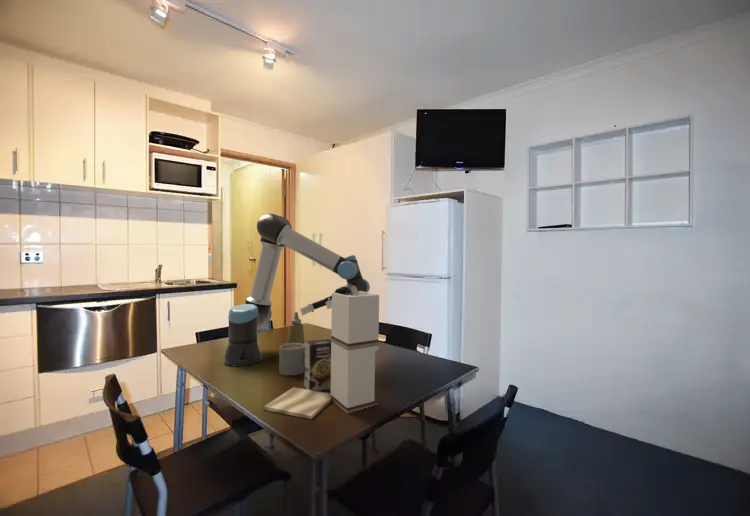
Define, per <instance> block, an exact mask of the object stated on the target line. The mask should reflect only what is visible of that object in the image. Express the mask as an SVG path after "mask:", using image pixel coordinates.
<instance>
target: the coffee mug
mask: <svg viewBox="0 0 750 516" xmlns="http://www.w3.org/2000/svg"><path fill="white" fill-rule="evenodd" d="M305 347H306V344H305V343H304V344H302V343H283V344H281V345H279V350H278V351H279V356H278V357H279V361H278V362H279V365H278V371H279V372H278V373H279V374H280V375H282V376H287V375H290V377H291V375H293V376H298V374H299V375H301V374H304V373H305ZM303 372H304V373H303Z"/></svg>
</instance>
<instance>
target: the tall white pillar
mask: <svg viewBox="0 0 750 516" xmlns="http://www.w3.org/2000/svg"><path fill="white" fill-rule="evenodd" d="M331 295H332V308H331V332H330V333H331V336H330V337H331V338H330V340H331V389H330V393H331V397H332V401H331V402H333V403H334V404H335V405H337V406H338V408H340V409H341V410H343V412H345V414H351V413H355V412H358V410H359V411H362V410H365V409H364V408H366V409H369V408H368V407H370V408H372V407H371V406H374V405H377V406H378V400H377V399H376V398H375V390H376V389H375V385H376V384H375V382H376V381H375V380H376V379H375V377H376V374H375V373H376V372H375V371H376V351H379V338H380V337H379V333H380V330H379V329H380V327H379V325H380V321H379V319H380V315H379V314H380V294H376V293H372V292H369V291H368V292H363V291H358V296H349V295H343V294H338V293H334V292H331ZM374 407H375V406H374ZM361 409H362V410H361ZM354 411H355V412H354Z"/></svg>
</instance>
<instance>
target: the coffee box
mask: <svg viewBox="0 0 750 516" xmlns="http://www.w3.org/2000/svg"><path fill="white" fill-rule="evenodd" d="M303 384H304V386H303V387H304V389H307V390H313V391H319V392H321V391H326V390H331V339H329V338H328V339H325V338H324V339H317V340H306V341H305V372H304V382H303Z"/></svg>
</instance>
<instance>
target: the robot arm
mask: <svg viewBox="0 0 750 516" xmlns="http://www.w3.org/2000/svg"><path fill="white" fill-rule="evenodd" d="M256 229H257V233H258V234H259V236H260V241H259V242H260V244H261V246H262V247H261V251H260V255H259V258H258V263H257V267H256V272H255V276H254V279H253V283H252V288H251V292H250V295H249V296H248V297H246V299H245V303H243V304H238V305H234V306H233V307H231V308H230V309H229V311H228V317H227V318H228V344H227V348H226V351H225V354H224V356H223V364H224V363H226V364H228V365H227V366H229V365H236V366H235V367H244V366H243V365H247V366H251V365H250V364H252V365H255V364H257V362H258V363H259V361H260V362H261V361H262V359H263V358H262V353H261V350H260V346H259V342H258V341H259V340H258V337H259V336H258V332H259V331H258V330H260V329H262V328H263V327H266V325H268V323H269V322H270V321H271V318H272V302H271V300H270V299H271V294H272V290H273V285H274V282H275V278H276V274H277V268H278V266H279V262H280V256H281V253H282V250H283V249H285V248H288V249H290V250H291V251H294V252H296V253H298V254H300V255H301V256H303V257H305V258H306V259H309V260H310V261H312V262H314V263H316V264H318V265H320V266H322V267H323V268H325V269H327V270H329V271H331V272H333V273H334V274H336V275H338V276H339V277H340V278H341V279H343V280H346V283H347V284H346V285H343V286H340V287H337V288H336V289H335V290H334V292H333V293H338V294H343V295H349V296H358V291H363V292H368V293H369V291H370V288H371V287H370V283H369V281H367V279H365V278H364V277H363V276H362V273H361V270H360V266H359V263H358V260H357V257H356V256H355V255H354V254H351V255H349V256H346V257H343V256H341V255H339V254H338V253H336V252H334V251H332V250H331V249H328V248H327V247H325V246H323V245H322V244H319V243H318V242H316V241H314V240H312V239H310V238H308V237H307V236H305V235H303V234H301V233H299V232H297V231H296V230H294V229H293V227H292V224H291V222H290V220H288V219H287V218H286V217H284V216H282V215H278V214H275V213H265V214H263V215H261V217H260V218H259V219H258V221H257V223H256ZM325 306H326V309H327V310H329V309H332V294H331V295H330V296H327V297H325V298H323V299H320V300H318V301H315V302H312V303H309V304H308V305H306V306H304V307H301V308H299V310H300V312H301V315H302V316H304V315H307V314H308V313H314V311H315V310H316V309H317V310H318V309H319V308H323V307H325ZM254 363H255V364H254ZM226 364H225V365H226ZM241 365H242V366H241Z"/></svg>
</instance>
